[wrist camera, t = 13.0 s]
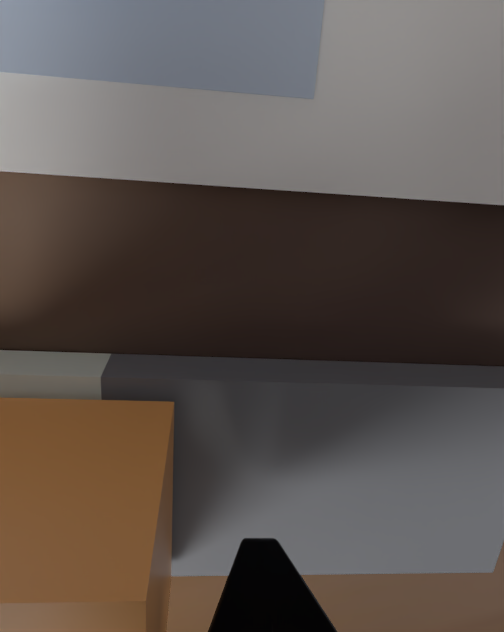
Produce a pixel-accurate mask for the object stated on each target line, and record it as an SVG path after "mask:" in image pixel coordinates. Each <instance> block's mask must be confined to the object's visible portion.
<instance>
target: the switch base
mask: <svg viewBox="0 0 504 632" xmlns="http://www.w3.org/2000/svg"><path fill="white" fill-rule="evenodd" d="M0 398H42V399H85V400H128V401H170V402H174V447H173V503H172V559H171V576H229V573H230V570H231V568H232V565H233V562H234V560H235V557H236V554H237V551H238V549H239V546H240V543H241V541H242V540H243V539H244V538H275V539H277V540H278V542H279V543H280V545H281V546H282V548H283V549H284V551H285V552H286V554H287V555H288V557H289V558H290V560H291V561H292V563H293V564H294V566H295V568H296V569H297V571H298V572H299V574H300V575H316V574H400V573H484V572H493V571H494V568H495V565H496V562H497V559H498V556H499V553H500V550H501V547H502V544H503V541H504V366H473V365H443V364H412V363H381V362H351V361H320V360H290V359H259V358H229V357H198V356H167V355H137V354H106V353H76V352H45V351H14V350H0Z"/></svg>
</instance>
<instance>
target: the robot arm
mask: <svg viewBox="0 0 504 632" xmlns="http://www.w3.org/2000/svg"><path fill="white" fill-rule="evenodd" d="M208 632H337V631H336V629H335V627H334V626H333V624H332V623H331V621H330V620H329V618H328V617H327V615H326V614H325V612H324V611H323V609H322V607H321V606H320V604H319V603H318V601H317V600H316V598H315V597H314V595H313V594H312V592H311V591H310V589H309V588H308V586H307V584H306V583H305V581H304V580H303V578H302V577H301V575H300V574H299V572H298V571H297V569H296V568H295V566H294V564H293V563H292V561H291V560H290V558H289V557H288V555H287V554H286V552H285V551H284V549H283V548H282V546H281V545H280V543H279V542H278V540H277V539H275V538H244V539H243V540H242V541H241V543H240V546H239V549H238V551H237V554H236V557H235V560H234V562H233V565H232V568H231V570H230V573H229V576H228V579H227V581H226V584H225V587H224V589H223V592H222V595H221V598H220V600H219V603H218V606H217V609H216V611H215V614H214V617H213V619H212V622H211V625H210V628H209V630H208Z"/></svg>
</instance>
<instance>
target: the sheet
mask: <svg viewBox="0 0 504 632" xmlns="http://www.w3.org/2000/svg"><path fill="white" fill-rule="evenodd" d="M0 171H4V172H19V173H34V174H49V175H63V176H78V177H93V178H108V179H122V180H137V181H152V182H167V183H182V184H196V185H211V186H226V187H241V188H255V189H270V190H285V191H300V192H315V193H329V194H344V195H359V196H374V197H388V198H403V199H418V200H433V201H448V202H462V203H477V204H492V205H504V0H0Z"/></svg>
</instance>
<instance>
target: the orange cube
mask: <svg viewBox="0 0 504 632" xmlns="http://www.w3.org/2000/svg"><path fill="white" fill-rule="evenodd" d="M173 447H174V402H170V401H128V400H85V399H42V398H0V632H166V628H167V617H168V606H169V596H170V585H171V559H172V503H173Z"/></svg>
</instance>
